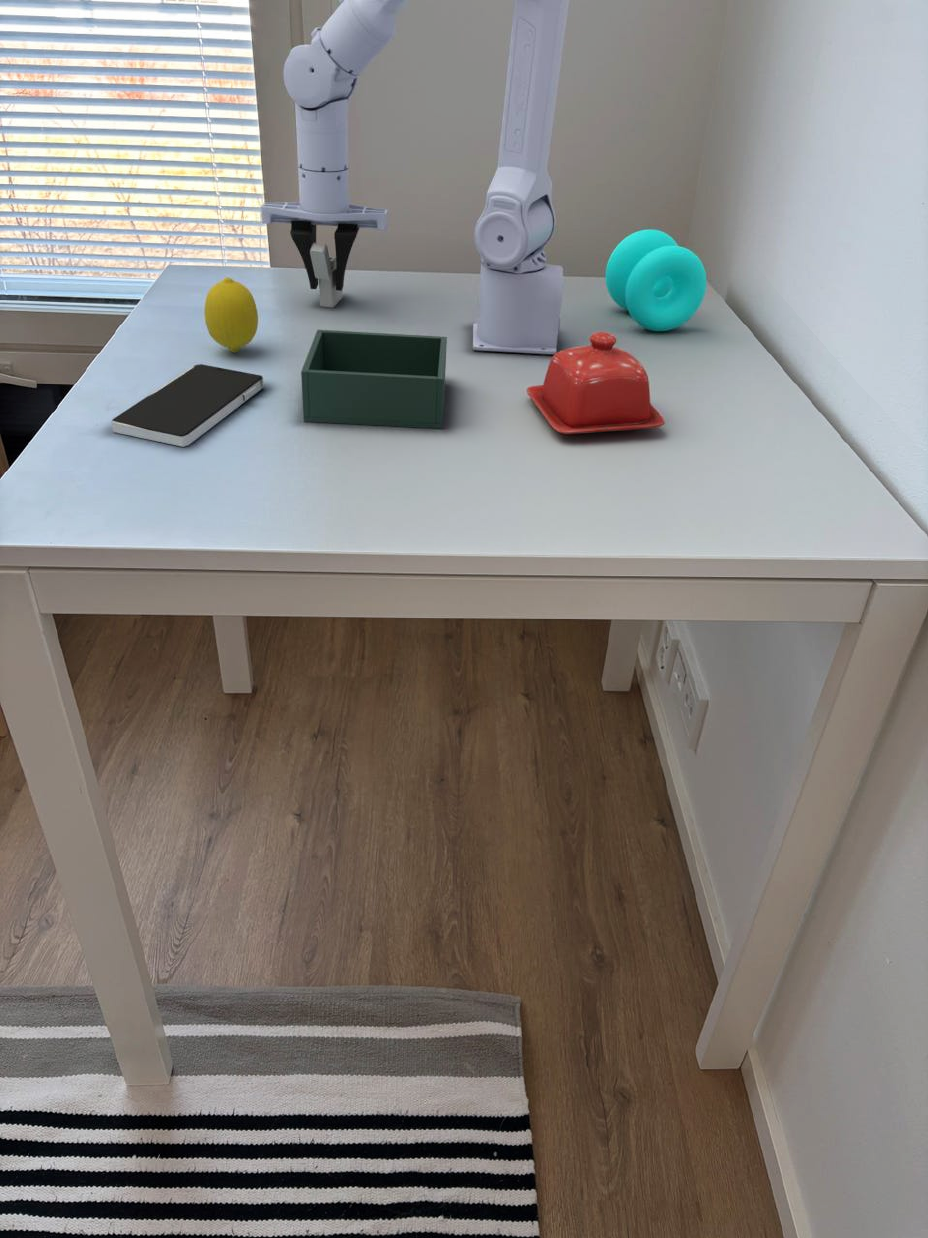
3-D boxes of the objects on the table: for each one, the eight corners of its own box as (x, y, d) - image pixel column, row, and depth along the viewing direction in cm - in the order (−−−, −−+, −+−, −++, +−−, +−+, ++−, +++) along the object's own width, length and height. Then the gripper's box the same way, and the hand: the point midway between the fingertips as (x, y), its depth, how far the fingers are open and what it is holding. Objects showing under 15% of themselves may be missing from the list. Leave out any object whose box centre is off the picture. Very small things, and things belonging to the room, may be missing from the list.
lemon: (249, 364, 102) (242, 288, 97) (200, 357, 103) (191, 282, 98) (268, 346, 106) (263, 273, 102) (220, 340, 107) (213, 267, 102)
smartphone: (107, 420, 87) (196, 362, 98) (109, 433, 88) (197, 373, 99) (185, 437, 85) (266, 376, 96) (187, 449, 86) (267, 387, 97)
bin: (444, 383, 101) (446, 336, 98) (441, 428, 92) (443, 379, 89) (319, 376, 100) (317, 329, 97) (303, 421, 91) (301, 371, 88)
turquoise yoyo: (624, 335, 115) (638, 250, 109) (597, 308, 123) (608, 226, 117) (701, 333, 117) (718, 249, 111) (669, 306, 125) (683, 226, 119)
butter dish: (520, 396, 99) (528, 314, 94) (624, 391, 101) (637, 311, 96) (555, 446, 90) (565, 358, 85) (668, 438, 92) (685, 353, 87)
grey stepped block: (329, 295, 121) (327, 229, 117) (342, 297, 121) (341, 231, 116) (312, 313, 116) (309, 245, 111) (325, 315, 115) (323, 246, 111)
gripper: (389, 163, 112) (388, 280, 120) (265, 155, 112) (273, 273, 120) (384, 176, 107) (384, 298, 115) (254, 168, 106) (263, 291, 114)
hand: (327, 287), depth 117 cm, fingers closed
